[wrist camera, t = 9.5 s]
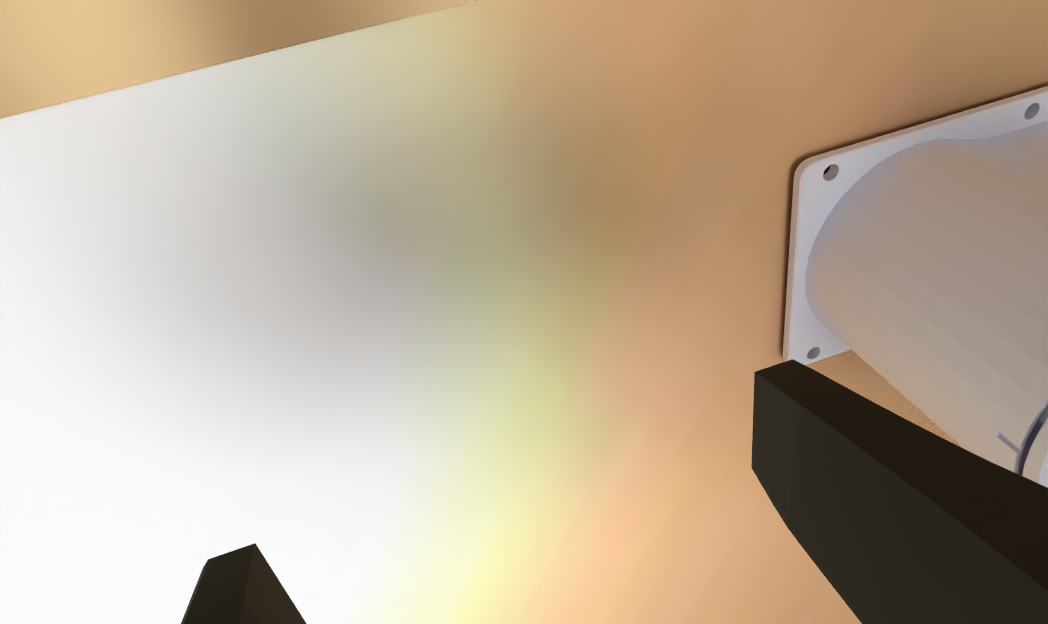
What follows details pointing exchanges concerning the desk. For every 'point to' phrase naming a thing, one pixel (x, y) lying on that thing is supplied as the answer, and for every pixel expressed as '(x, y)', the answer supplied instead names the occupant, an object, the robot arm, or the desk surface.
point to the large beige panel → (159, 39)
